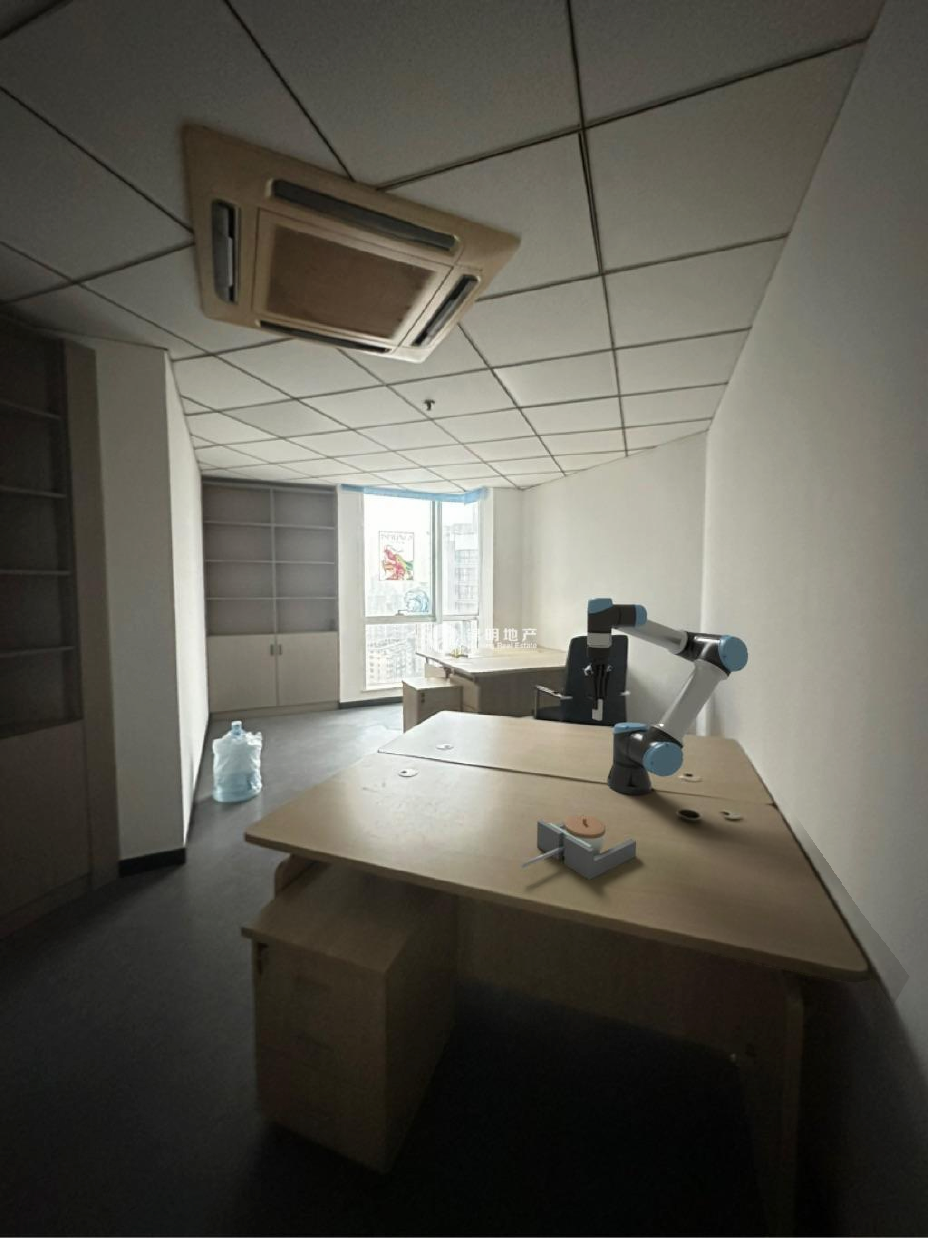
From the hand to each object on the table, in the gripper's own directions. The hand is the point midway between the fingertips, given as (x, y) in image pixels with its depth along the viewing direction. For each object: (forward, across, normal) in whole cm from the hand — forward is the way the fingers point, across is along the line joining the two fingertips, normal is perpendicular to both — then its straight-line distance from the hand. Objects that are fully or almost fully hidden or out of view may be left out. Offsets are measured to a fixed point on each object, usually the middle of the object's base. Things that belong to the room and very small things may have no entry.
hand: (597, 719), depth 146 cm
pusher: (+29, +37, +15) cm, 49 cm away
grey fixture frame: (+29, +22, +15) cm, 39 cm away
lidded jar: (+30, +23, +15) cm, 41 cm away
